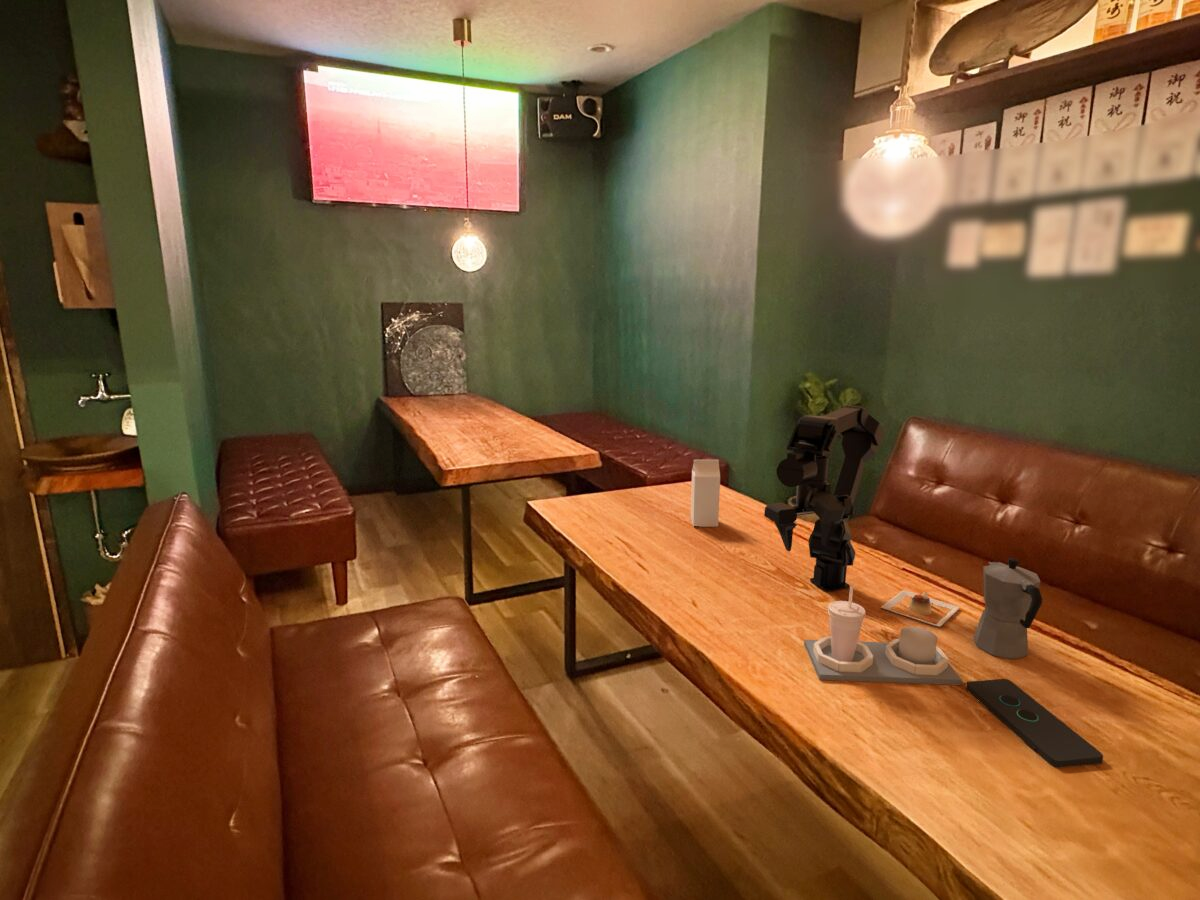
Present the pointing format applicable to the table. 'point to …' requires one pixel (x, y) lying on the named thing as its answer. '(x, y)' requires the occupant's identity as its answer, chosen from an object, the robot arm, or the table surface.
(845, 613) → the smoothie
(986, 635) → the coffeepot
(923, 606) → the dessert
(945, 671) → the board
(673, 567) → the table surface
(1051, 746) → the smart home device
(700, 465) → the milk carton
